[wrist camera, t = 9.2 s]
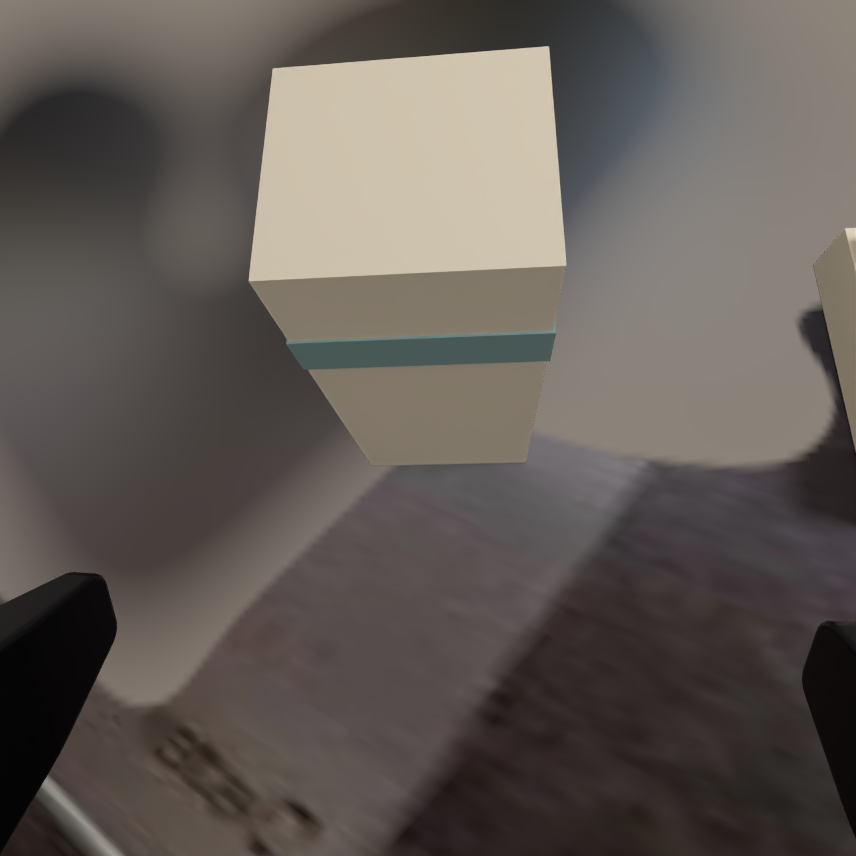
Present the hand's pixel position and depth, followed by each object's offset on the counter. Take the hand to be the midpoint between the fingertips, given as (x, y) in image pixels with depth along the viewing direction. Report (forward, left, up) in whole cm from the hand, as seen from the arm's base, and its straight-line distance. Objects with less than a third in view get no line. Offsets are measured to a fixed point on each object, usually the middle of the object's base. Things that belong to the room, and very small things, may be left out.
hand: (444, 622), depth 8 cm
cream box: (+6, +5, -11) cm, 13 cm away
